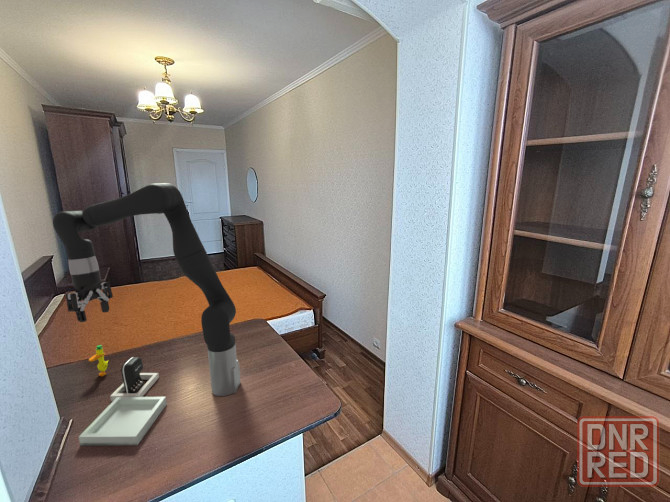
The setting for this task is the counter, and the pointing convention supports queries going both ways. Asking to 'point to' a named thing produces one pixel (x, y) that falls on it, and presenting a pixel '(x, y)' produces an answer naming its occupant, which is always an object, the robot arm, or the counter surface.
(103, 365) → the toy figure
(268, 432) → the counter surface
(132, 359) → the battery charger
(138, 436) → the tray
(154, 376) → the white rectangular frame
